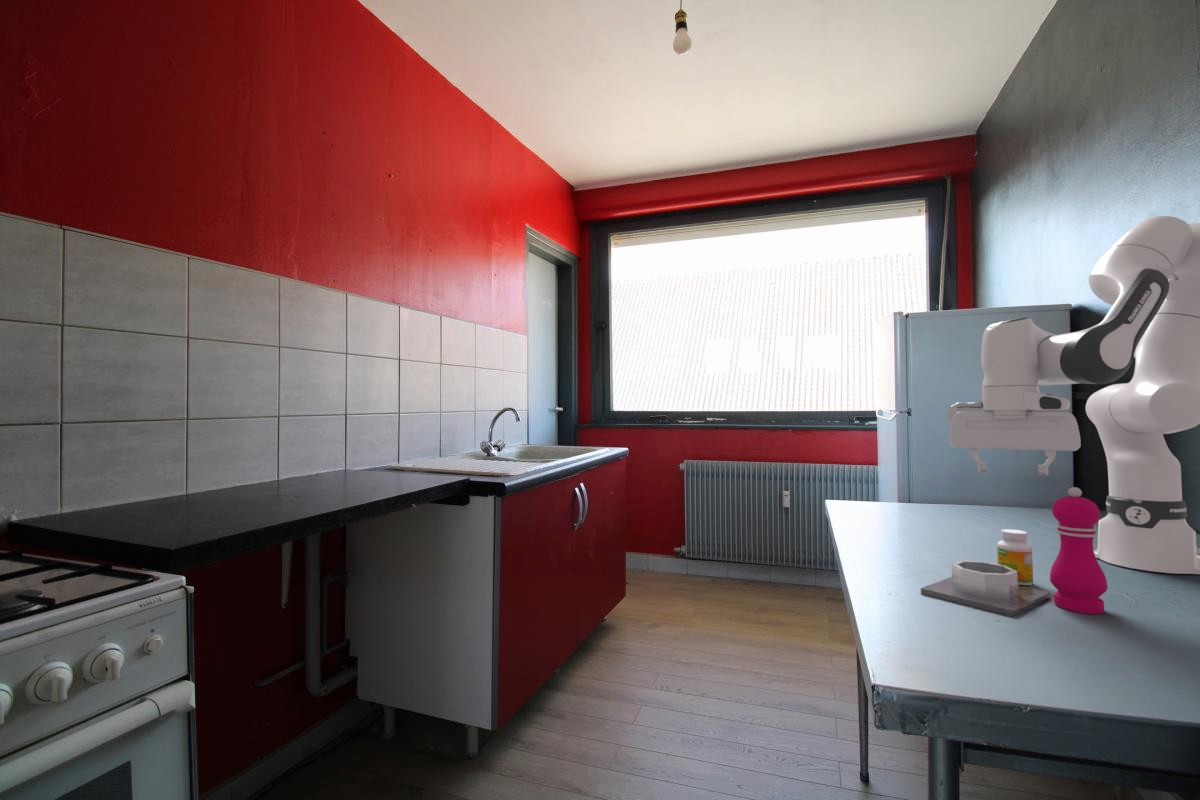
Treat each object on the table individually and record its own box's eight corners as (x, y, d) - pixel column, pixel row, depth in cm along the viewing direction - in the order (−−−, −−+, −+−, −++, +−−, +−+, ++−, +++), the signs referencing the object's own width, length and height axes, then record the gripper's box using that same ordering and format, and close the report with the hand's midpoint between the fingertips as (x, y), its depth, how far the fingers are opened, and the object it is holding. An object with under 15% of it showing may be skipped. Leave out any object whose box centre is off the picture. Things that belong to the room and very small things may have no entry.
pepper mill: (1120, 617, 86) (1115, 490, 86) (1067, 614, 87) (1063, 489, 88) (1089, 601, 93) (1085, 484, 94) (1041, 599, 94) (1037, 484, 95)
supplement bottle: (991, 579, 106) (990, 529, 106) (1008, 576, 108) (1007, 527, 108) (1022, 587, 101) (1020, 535, 101) (1039, 584, 103) (1038, 532, 103)
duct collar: (960, 578, 107) (960, 552, 107) (1049, 597, 95) (1048, 569, 95) (920, 593, 98) (920, 565, 98) (1013, 617, 86) (1012, 585, 86)
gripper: (945, 402, 109) (946, 471, 109) (1080, 400, 97) (1083, 477, 96) (948, 403, 114) (949, 468, 114) (1077, 401, 102) (1079, 474, 101)
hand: (1011, 473), depth 105 cm, fingers open, 8 cm apart
